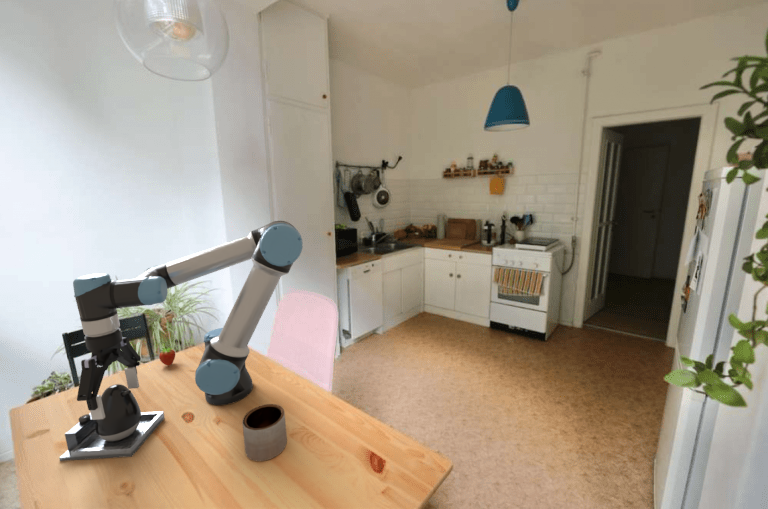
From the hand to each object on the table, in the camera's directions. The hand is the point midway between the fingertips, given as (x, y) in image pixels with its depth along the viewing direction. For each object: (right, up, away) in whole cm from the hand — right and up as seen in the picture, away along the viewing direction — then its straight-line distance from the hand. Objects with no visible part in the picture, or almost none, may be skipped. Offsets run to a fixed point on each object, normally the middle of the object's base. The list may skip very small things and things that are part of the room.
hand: (117, 402), depth 93 cm
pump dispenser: (0, -10, +2) cm, 10 cm away
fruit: (-13, -4, +42) cm, 44 cm away
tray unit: (-2, -11, +2) cm, 11 cm away
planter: (+43, -12, -2) cm, 44 cm away
